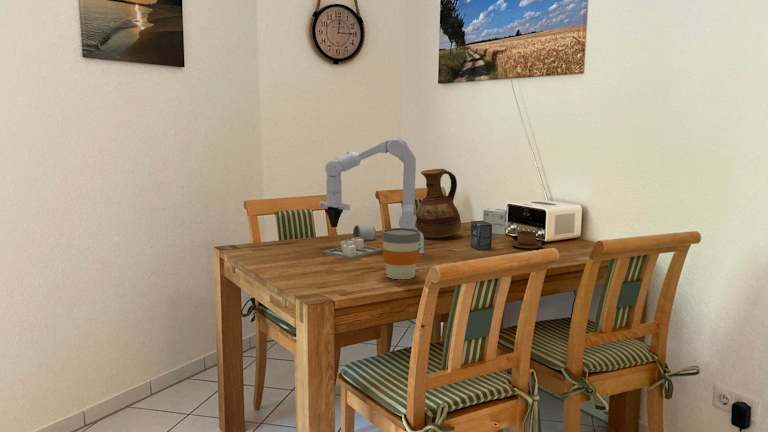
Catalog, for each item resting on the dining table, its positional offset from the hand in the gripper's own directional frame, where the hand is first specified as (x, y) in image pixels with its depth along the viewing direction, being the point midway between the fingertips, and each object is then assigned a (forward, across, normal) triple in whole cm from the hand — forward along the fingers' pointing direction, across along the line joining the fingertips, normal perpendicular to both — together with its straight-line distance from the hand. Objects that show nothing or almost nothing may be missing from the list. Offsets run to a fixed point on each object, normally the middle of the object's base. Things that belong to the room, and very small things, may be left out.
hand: (334, 226), depth 231 cm
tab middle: (+8, +7, 0) cm, 11 cm away
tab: (+8, +13, -6) cm, 16 cm away
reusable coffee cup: (+10, +44, -14) cm, 47 cm away
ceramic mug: (+10, -4, +21) cm, 24 cm away
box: (+10, +40, +42) cm, 59 cm away
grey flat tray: (+9, +10, 0) cm, 14 cm away
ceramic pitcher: (+10, +14, +51) cm, 54 cm away
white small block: (+8, +7, +6) cm, 12 cm away
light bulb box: (+10, +28, +76) cm, 82 cm away
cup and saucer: (+10, +54, +56) cm, 78 cm away
